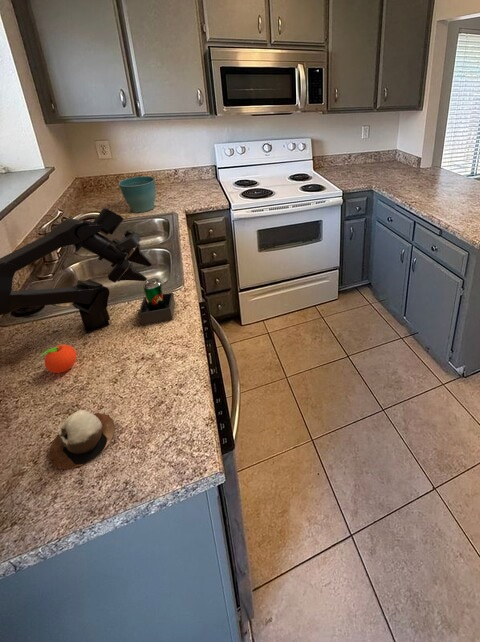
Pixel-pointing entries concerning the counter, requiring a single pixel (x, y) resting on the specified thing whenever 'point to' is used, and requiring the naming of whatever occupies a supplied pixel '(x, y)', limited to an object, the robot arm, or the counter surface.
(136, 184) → the flower pot
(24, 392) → the counter surface
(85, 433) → the hat
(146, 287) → the soda can
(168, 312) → the waste bin
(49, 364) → the clementine
